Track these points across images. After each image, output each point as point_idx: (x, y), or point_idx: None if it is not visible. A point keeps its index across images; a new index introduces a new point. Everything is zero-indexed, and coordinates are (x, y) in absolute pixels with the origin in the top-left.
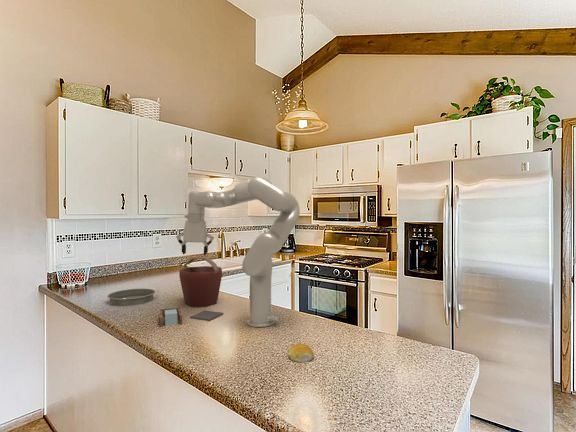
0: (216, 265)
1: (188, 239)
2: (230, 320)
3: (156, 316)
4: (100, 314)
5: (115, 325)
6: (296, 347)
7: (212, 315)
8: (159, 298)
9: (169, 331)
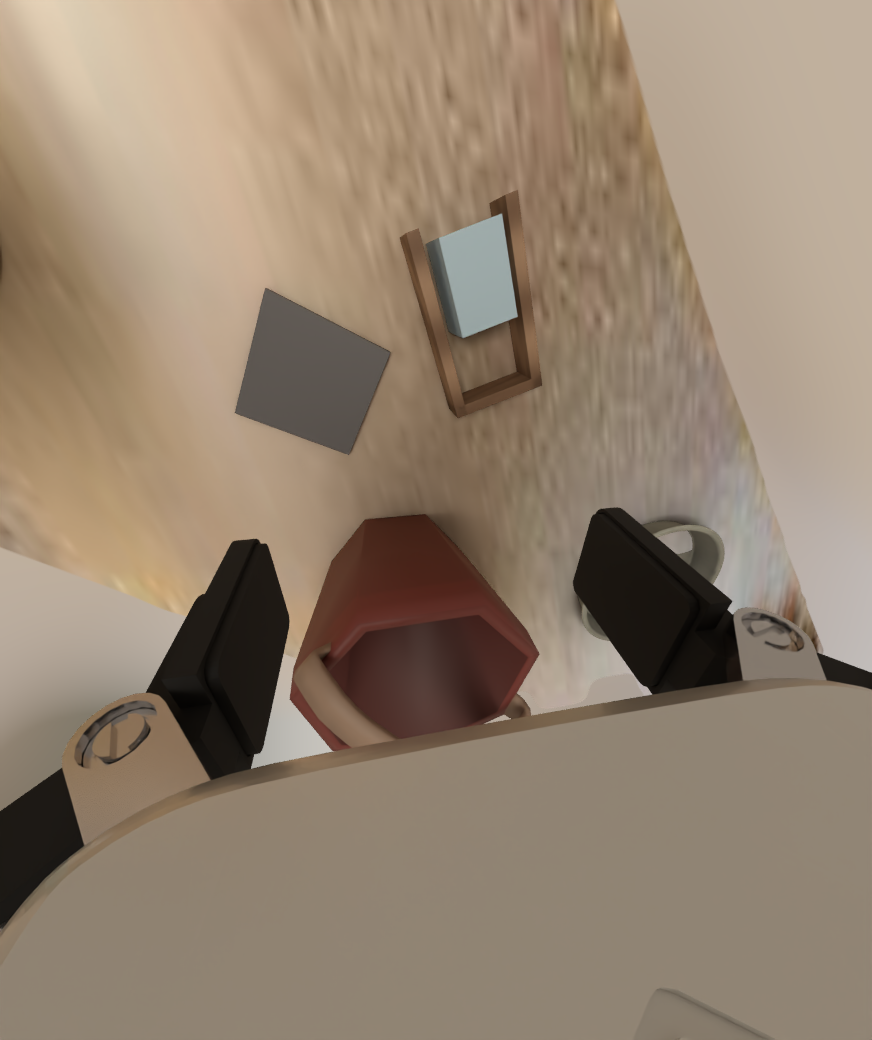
0: (313, 707)
1: (826, 770)
2: (141, 291)
3: (541, 388)
4: (729, 422)
5: (688, 259)
6: None
7: (276, 365)
8: (557, 601)
9: (437, 86)
